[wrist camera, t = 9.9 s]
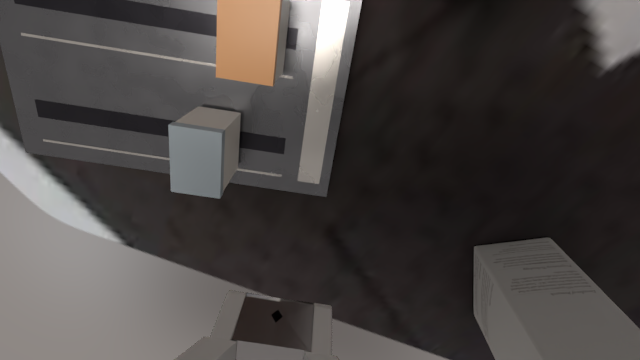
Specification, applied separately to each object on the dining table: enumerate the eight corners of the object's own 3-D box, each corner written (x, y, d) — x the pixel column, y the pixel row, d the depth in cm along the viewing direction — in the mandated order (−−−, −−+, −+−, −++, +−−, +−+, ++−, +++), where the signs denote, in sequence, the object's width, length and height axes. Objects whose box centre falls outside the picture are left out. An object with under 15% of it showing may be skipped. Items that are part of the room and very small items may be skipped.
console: (362, -14, 21) (365, -16, 20) (326, 188, 27) (326, 197, 26) (-6, -78, 20) (-31, -85, 19) (41, 145, 26) (25, 152, 25)
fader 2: (291, 0, 20) (280, -4, 16) (283, 73, 22) (272, 86, 17) (241, -9, 20) (217, -15, 16) (237, 65, 21) (215, 77, 17)
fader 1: (241, 112, 23) (222, 132, 19) (238, 168, 24) (220, 198, 20) (197, 105, 23) (168, 124, 18) (197, 162, 24) (170, 191, 20)
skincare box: (540, 307, 32) (708, 539, 18) (467, 314, 32) (572, 544, 18) (551, 232, 28) (770, 446, 14) (468, 242, 29) (599, 456, 15)
